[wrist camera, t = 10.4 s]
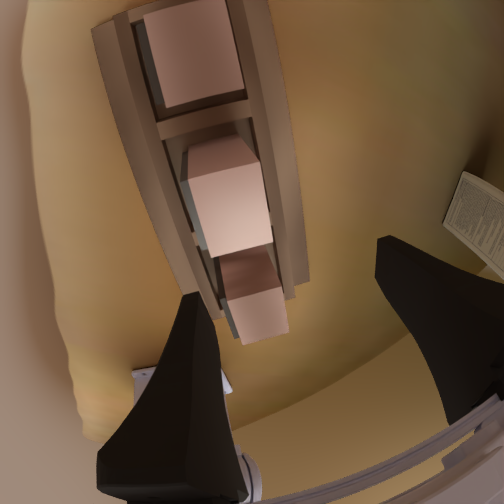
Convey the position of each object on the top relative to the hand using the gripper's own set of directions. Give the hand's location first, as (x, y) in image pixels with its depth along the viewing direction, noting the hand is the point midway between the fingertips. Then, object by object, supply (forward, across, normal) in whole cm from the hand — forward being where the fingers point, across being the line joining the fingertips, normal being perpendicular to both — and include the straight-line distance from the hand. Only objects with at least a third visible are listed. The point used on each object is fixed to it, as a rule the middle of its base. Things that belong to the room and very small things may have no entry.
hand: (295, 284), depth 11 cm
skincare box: (+11, -21, +6) cm, 25 cm away
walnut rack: (+10, +2, -2) cm, 11 cm away
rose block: (+9, +2, -2) cm, 10 cm away
